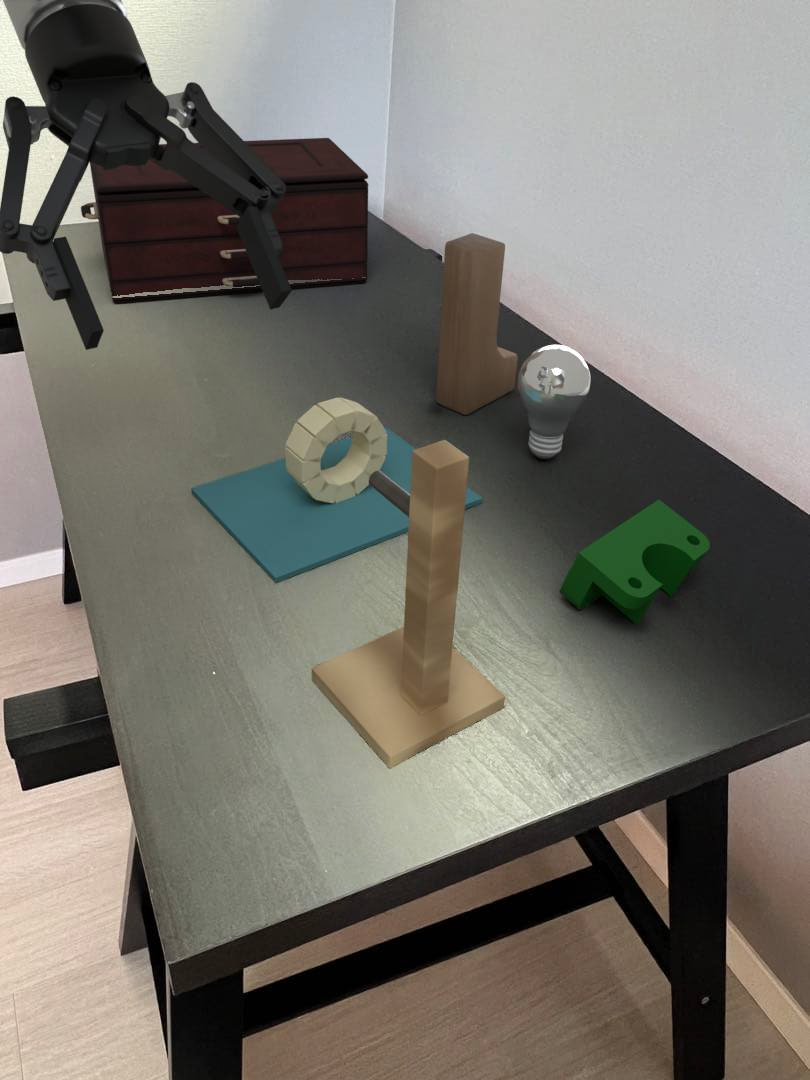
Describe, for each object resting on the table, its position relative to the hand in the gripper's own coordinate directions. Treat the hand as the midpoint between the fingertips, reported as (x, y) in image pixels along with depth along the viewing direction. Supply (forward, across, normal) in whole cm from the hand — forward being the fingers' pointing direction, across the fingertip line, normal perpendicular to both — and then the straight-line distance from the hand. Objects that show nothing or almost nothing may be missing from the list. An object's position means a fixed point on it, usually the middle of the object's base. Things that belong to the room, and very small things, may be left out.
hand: (192, 319), depth 64 cm
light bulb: (+16, -37, -17) cm, 43 cm away
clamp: (+30, -28, -3) cm, 41 cm away
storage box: (-29, -34, -61) cm, 75 cm away
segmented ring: (+12, -15, -20) cm, 28 cm away
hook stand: (+29, -6, -3) cm, 30 cm away
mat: (+12, -15, -20) cm, 28 cm away
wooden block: (+6, -39, -27) cm, 48 cm away
